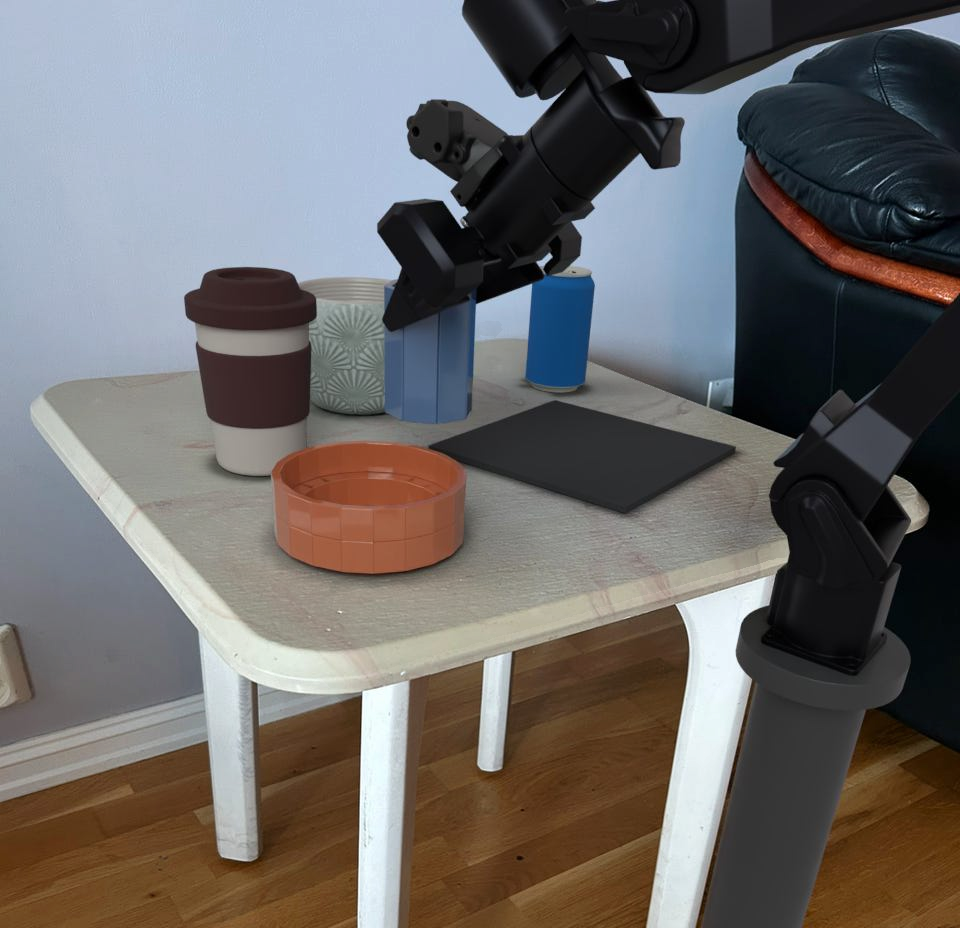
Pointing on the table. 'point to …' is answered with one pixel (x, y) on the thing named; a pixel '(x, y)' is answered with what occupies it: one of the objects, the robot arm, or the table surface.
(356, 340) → the planter
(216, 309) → the coffee cup
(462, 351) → the blue cup
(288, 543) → the bowl
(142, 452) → the table surface
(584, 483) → the mat
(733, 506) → the table surface
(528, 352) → the beverage can
